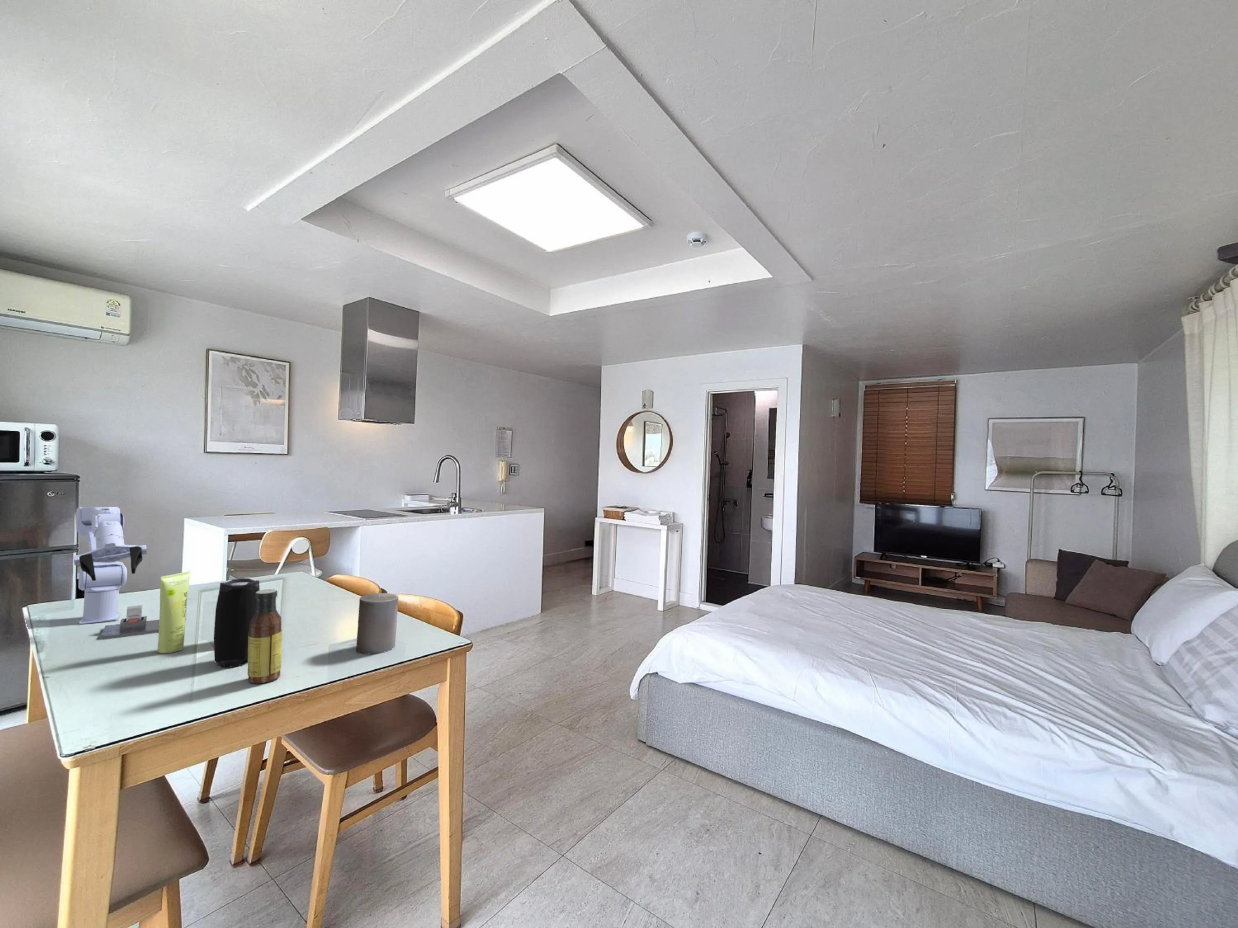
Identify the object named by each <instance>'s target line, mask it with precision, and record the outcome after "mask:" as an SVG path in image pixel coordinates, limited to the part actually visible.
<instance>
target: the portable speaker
mask: <svg viewBox="0 0 1238 928" xmlns="http://www.w3.org/2000/svg"><path fill="white" fill-rule="evenodd" d="M260 590H261V589H260V580H257V579H256V580H255V579H251V578H248V577H247V578H246V577H244V578H243V577H242V578H234V579H232V580H229V581H226V582H220V583H219V590H218V594H217V595H218V596H217V600H216V605H215V613H214V615H215V617H214V630H213V653H214V654H213V655H214V662H215V664H218V665H219V666H220V668H236V667H240V666H241V665H242V664H243V662H246V661H248V633H249V625H250V621H251V619H252V618H253V616H254V614H255V609H256V599H255V593H256V592H257V591H260Z"/></svg>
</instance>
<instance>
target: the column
mask: <svg viewBox="0 0 1238 928" xmlns="http://www.w3.org/2000/svg"><path fill="white" fill-rule="evenodd" d="M142 613H143V605H131V606H127V608H126V617H125V618H126V622H129V620H133V619H138V621H140V620H141V617H143V615H142Z"/></svg>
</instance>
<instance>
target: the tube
mask: <svg viewBox="0 0 1238 928" xmlns="http://www.w3.org/2000/svg"><path fill="white" fill-rule="evenodd" d="M190 576H191V570H189V571H184V572H179V573H174V574H169V575H163V576H160V578H159V617H158V618H159V619H158V620H159V632H158V641H157V652H158V653H159V654H170V653H174V652H179V651H181V650H184V647H185V645H184V644H185V634H186V633H185V632H186V620H187V607H188V598H189V597H188V596H189V588H190V587H189V586H190V578H191V577H190Z"/></svg>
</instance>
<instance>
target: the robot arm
mask: <svg viewBox="0 0 1238 928" xmlns="http://www.w3.org/2000/svg"><path fill="white" fill-rule="evenodd" d="M75 527H76V532H77V534H78V535H81V536H82V537H85V539H86V542H87V544H88V550H89V551H87V552H84V553H80V554H76V555H73V563H74V566H80V568H79V572H78V573H79V574H78V589H79V590H81V591H83V592H84V594H83V595H84V598H83V609H82V610H83V612H82V617H81V619H80V620H79V622H78V624H79V625H82V624H83V625H84V624H93V623H102V622H103V623H104V622H113V621H118V620H119V618H120V615H121V611H118V608H119V593H120V590H121V587H124V586H125V585H127V579H128V568H127V567H126V565H125V564H124V562H122V561H121V560H125V559H127V558H130V569H131V575H134V574H136V570H137V568H138V566H139V564H141V562H142V561H143V555H147V554H148V549H147V548H148V547H147V545H146V544H143V545H142V544H141V545H134V544H125V539H124V532H123V530H124V527H125V516H124V513H123V512H121V508H119V506H89V507H88V506H87V507H86V506H79V507H77V509H76V513H75Z"/></svg>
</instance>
